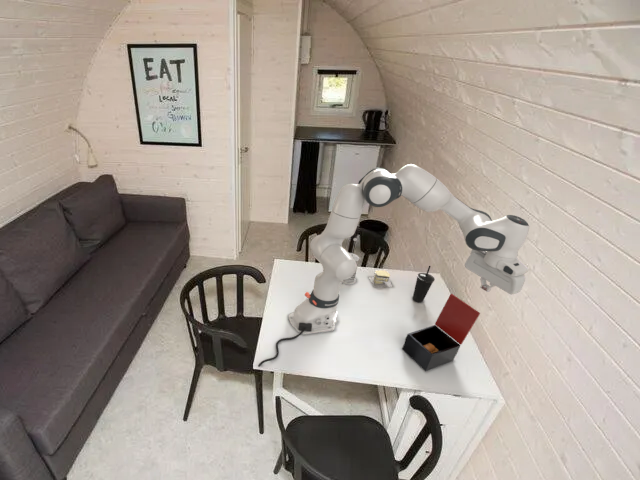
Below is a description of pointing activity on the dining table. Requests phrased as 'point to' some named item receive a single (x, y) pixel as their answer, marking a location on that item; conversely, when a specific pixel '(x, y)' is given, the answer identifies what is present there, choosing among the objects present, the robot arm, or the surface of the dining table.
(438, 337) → the black hinged box
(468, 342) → the dining table surface
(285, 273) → the dining table surface
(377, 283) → the stacked layers on plate
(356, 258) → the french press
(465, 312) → the red box lid
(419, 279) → the drinking cup
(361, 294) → the dining table surface
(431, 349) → the bread roll
